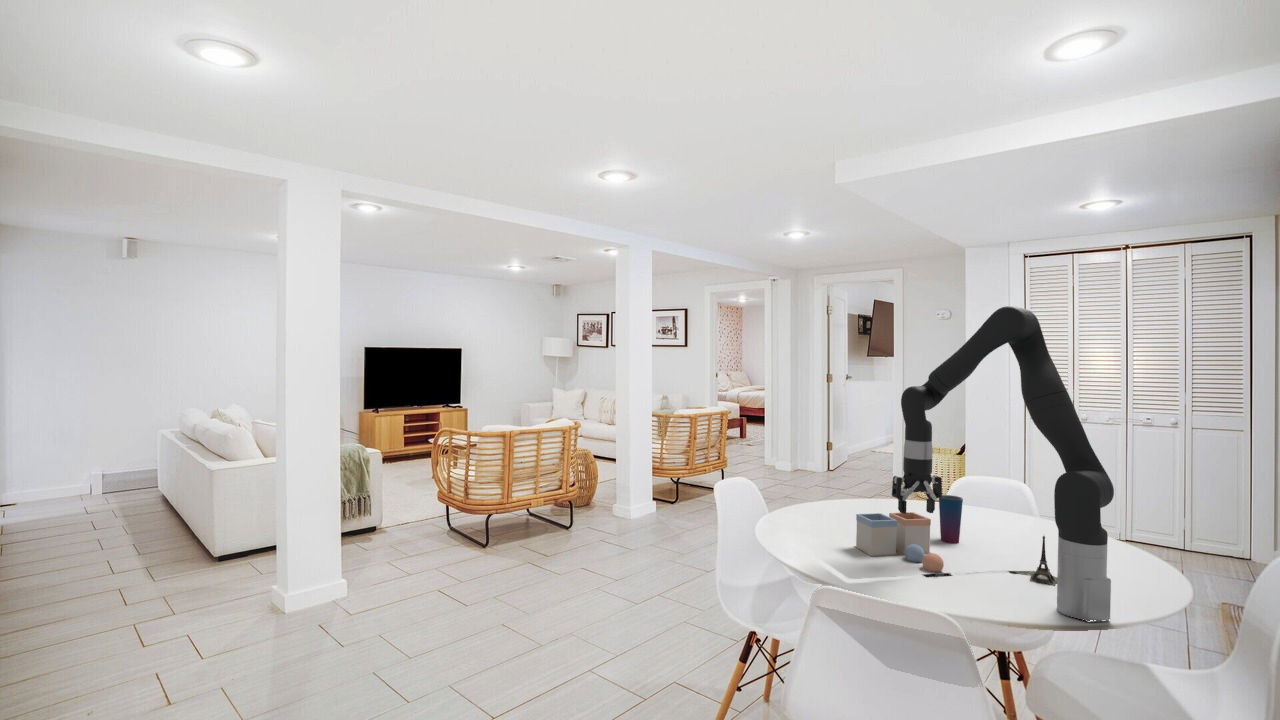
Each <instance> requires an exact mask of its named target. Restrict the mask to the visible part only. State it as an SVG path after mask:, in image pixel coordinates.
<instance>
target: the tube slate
mask: <svg viewBox="0 0 1280 720" xmlns="http://www.w3.org/2000/svg"><path fill="white" fill-rule="evenodd" d="M855 516H856V518H855V519H856V534H855V535H856V536H855V537H856V538H855V540H856V543H855V544H856V545H855V546H856V547H857V548H858V549H860V550H862V551H864V552H865V553H867V554H869V555H871V556H876V555H896V527H897V520H895V519H893V518H890V517H889V515H886V514H883V513H880V512H878V513H856V515H855ZM858 549H857V550H858ZM860 550H859V551H860ZM862 551H861V552H862ZM865 553H864V554H865ZM867 554H866V555H867ZM869 555H868V556H869Z"/></svg>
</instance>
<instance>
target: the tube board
mask: <svg viewBox="0 0 1280 720" xmlns="http://www.w3.org/2000/svg"><path fill="white" fill-rule="evenodd" d="M852 547H854V548H855V549H856V550H857V551H860V552H862V553H863V554H865V555H867V556H869V557H871V558H879V557H880V558H881V557H899V556H900V557H901V556H902V557H903V556H904V557H905V554H904V553H902V552H900V551H898V550H896V555H876V556H871V555H869V554H867V553H865V552H864V551H862V550H860V549H858V548H857V547H856V545H853V546H852ZM924 554H925V555H927V554H929V553H924Z"/></svg>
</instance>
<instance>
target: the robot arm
mask: <svg viewBox="0 0 1280 720" xmlns="http://www.w3.org/2000/svg"><path fill="white" fill-rule="evenodd" d="M1006 344H1008V345H1009V347H1010V348H1011V350H1012V352H1013V354H1014V356H1015V359H1016V360H1017V364H1018V366H1019V373H1020V387H1021V388H1020V389H1021V394H1022V398H1023V401H1024V404H1025V407H1026V409H1027V411H1028V413H1029V416H1030V418H1031V420H1032V422H1033V423H1034V425H1035V426H1036V428H1037V429H1038V430H1039V432H1040V433H1041V434H1042V435H1043V437H1044V438H1045V439H1046V440H1047V441H1048V443H1050V445H1051V446H1052V447H1053V448H1054V449H1055V452H1056V453H1057V455H1058V456H1059V459H1060V461H1061V462H1062V463H1061V464H1062V465H1063V468H1064V470H1065V472H1064V473H1063V474H1061V475H1059V477H1058V478H1057V480H1056V482H1055V484H1054V495H1053V498H1054V500H1053V501H1054V504H1053V505H1054V522H1055V525H1056V527H1057V530H1058V531H1057V532H1058V535H1057V536H1058V537H1057V538H1058V539H1057V540H1058V541H1057V576H1056V577H1057V584H1056V610H1057V611H1058V613H1060V614H1062V615H1064V614H1065V615H1064V616H1066V615H1067V617H1069V616H1071V617H1070V618H1072V617H1074V618H1073V619H1075V618H1079V619H1084V620H1087V621H1090V620H1093V621H1094V620H1096V621H1102V620H1109V619H1110V620H1111V603H1112V602H1111V596H1112V595H1111V594H1112V593H1111V591H1112V580H1111V578H1109V577H1108V576H1107V574H1108V570H1107V569H1108V538H1109V537H1108V536H1109V535H1108V532H1107V530H1106V529H1105V528H1104V527H1103V526H1102V521H1101V520H1102V518H1101V517H1102V516H1101V514H1102V513H1101V509H1102V508H1105V507H1107V506H1108V505H1109V504H1110V503H1111V502H1112V501H1113V498H1114V496H1115V494H1114V493H1115V489H1114V488H1115V487H1114V484H1113V483H1112V480H1111V478H1110V476H1109V475H1108V473H1107V471H1106V469H1105V468H1104V466H1103V464H1102V463H1101V462H1100V460H1099V458H1098V456H1097V455H1096V453H1095V451H1094V449H1093V447H1092V445H1091V443H1090V441H1089V438H1088V437H1087V434H1086V431H1085V429H1084V427H1083V424H1082V423H1081V420H1080V418H1079V415H1078V413H1077V411H1076V408H1075V405H1074V403H1073V401H1072V398H1071V397H1070V393H1069V392H1068V390H1067V388H1066V386H1065V384H1064V382H1063V379H1062V377H1061V375H1060V373H1059V371H1058V370H1057V367H1056V365H1055V363H1054V361H1053V359H1052V357H1051V355H1050V353H1049V350H1048V346H1047V344H1046V341H1045V337H1044V335H1043V330H1042V328H1041V325H1040V320H1039V319H1038V317H1037V316H1036V315H1035V313H1033V312H1032V311H1031V310H1029V309H1027V308H1024V307H1018V306H1011V305H1008V306H1007V305H1006V306H1002V307H1000V308H998V309H997V310H995V311H994V312H993V313H992V314H991V315H990V316H989V317H988V318H987V319H986V320H985V321H984V322H983V324H982V325H981V326H980V327H979V328H978V330H977V331H976V332H975V333H974V334H973V335H972V336H971V337H970V338H969V339H968V340H967V341H966V342H965V343H964V344H963V345H962V346H961V347H960V348H959V349H958V350H957V351H955V352H953V354H952V355H950V356H949V357H948V358H947V359H945V361H943V362H942V363H941V364H940V365H938V366H937V367H936V368H935V369H933V370H932V371H931V372H930V373H929V375H928V379H927V381H926V382H925V383H923V384H922V385H919V386H918V385H917V386H909V387H907V388H905V390H903V392H902V394H901V397H900V398H901V399H900V405H901V407H900V408H901V411H902V418H903V421H904V424H905V425H904V426H905V428H904V430H905V432H904V445H903V462H902V463H903V464H902V466H903V467H902V468H903V469H902V470H903V475H902V476H897V475H894V476H893V477H892V486H891V487H892V489H891V496H892V497H893V498H895V499H897V502H898V503H897V509H898V511H899V513H902V514H906V512H907V499H908V497H909V496H912V494H913V493H924V494H925V497H927V498H926V508H925V509H926V512H927V513H929V514H933V513H934V511H935V510H936V500H937V499H939V498H941V497H942V495H943V481H942V480H943V479H942V477H941V476H938V475H933V476H932V473H933V454H934V453H933V450H934V449H933V443H932V442H933V441H932V440H933V424H932V423H931V421H930V420H927V416H926V411H929V410H932V409H933V408H935V407H936V406H937V405H939V404H940V403H941V402H942V400H944V399H945V398H946V396H947V395H948V394H949V393H950V392H951V391H953V389H955V388H956V387H958V386H959V385H961V384H962V383H963V382H964V381H965V380H967V379H968V378H969V377H970V376H971V375H972V374H973V373H974V371H975V370H976V368H978V366H979V365H980V363H981V362H982V361H983V360H984V359H985V358H986V357H987V356H988V355H990V354H991V353H992V352H993V351H996V350H997V349H999V348H1000V347H1002V346H1004V345H1006ZM931 483H932V487H931ZM902 485H903V486H902ZM1079 619H1078V620H1079ZM1102 622H1103V621H1102Z"/></svg>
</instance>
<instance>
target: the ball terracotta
mask: <svg viewBox="0 0 1280 720" xmlns="http://www.w3.org/2000/svg"><path fill="white" fill-rule="evenodd" d="M921 562H923V563H922V567H923V566H924V567H923V569H925V570H926V571H928V572H933V573H934V572H942V571H943V569H944V564H945V563H944V560H943V559H942V557H941V556H940V555H939V554H937V553H933V552H930V553H929V554H925V556H924V558H923V561H921Z"/></svg>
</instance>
